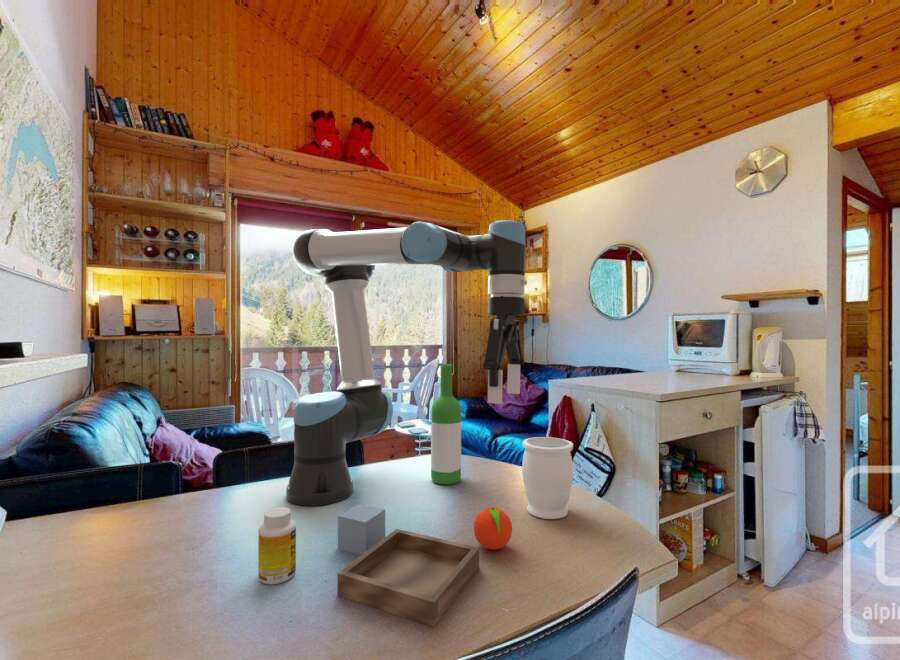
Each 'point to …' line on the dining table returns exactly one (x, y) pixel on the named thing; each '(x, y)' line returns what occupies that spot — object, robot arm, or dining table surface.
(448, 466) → the wine bottle
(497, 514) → the clementine
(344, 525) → the grey cube
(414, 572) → the walnut tray
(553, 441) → the jar
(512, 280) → the robot arm
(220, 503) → the dining table surface
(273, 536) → the supplement bottle
